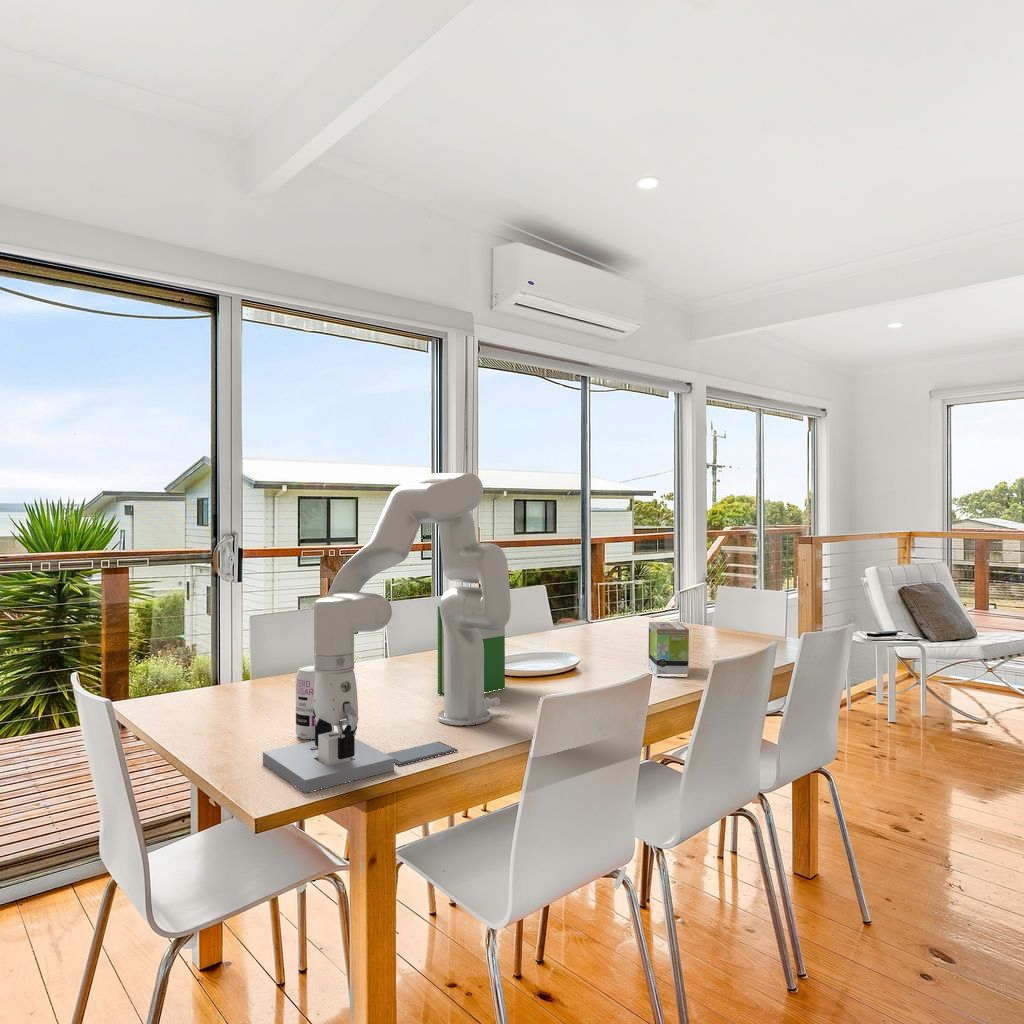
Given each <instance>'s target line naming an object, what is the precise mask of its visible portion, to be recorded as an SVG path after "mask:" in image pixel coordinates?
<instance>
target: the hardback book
mask: <svg viewBox="0 0 1024 1024" xmlns="http://www.w3.org/2000/svg"><path fill="white" fill-rule="evenodd" d="M505 628H506V625H505V626H504V627H503V628H501V629H497V630H490V629H480V628H477V629H478V631H479V633H480V635H481V637H482V640H483V644H484V692H489V691H493V690H498V689H503V688H505V689H506V685H505V684H506V670H505V669H506V639H505V637H506V635H505V634H506V631H505V630H506V629H505ZM438 694H444V632H443V625H442V620H441V615H440V605H439V606H437V695H438Z"/></svg>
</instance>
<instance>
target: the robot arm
mask: <svg viewBox="0 0 1024 1024" xmlns="http://www.w3.org/2000/svg"><path fill="white" fill-rule="evenodd" d="M483 497H484V486H483V483H482V480H481V479H480V478H479V476H477V474H474V473H473V472H434V473H425V474H423V475H422V474H421V475H420V476H418V477H417V478H416V479H415V480H414V481H413V483H405V484H400V485H398V486H397V487H395V488H394V489H393V490H392V491H391V493H390V495H389V497H388V499H387V502H386V504H385V507H384V508H383V510H382V513H381V515H380V517H379V520H378V521H377V524H376V526H375V529H374V530H373V533H372V536H371V538H370V540H369V541H368V543H367V544H366V545H364V546H363V547H362V548H361V549H358V551H357V552H356V553H355V554H354V555H353V556H351V558H350V559H348V560H347V562H345V563H344V564H343V566H342V567H341V568H340V569H339V570H338V572H337V574H336V575H335V577H334V579H333V581H332V583H331V585H330V588H329V590H328V593H327V595H326V597H321V598H319V599H317V600H316V601H315V602H314V605H313V665H314V671H315V672H316V675H315V687H314V699H312V703H313V708H314V711H313V714H314V716H315V719H314V724H315V725H317V726H315V740H314V741H315V745H316V746H317V747H318V735H319V734H324V733H329V732H331V724H332V725H334V727H336V729H337V731H338V732H339V735H340V737H339V738H338V759H340V760H341V759H345V758H349V757H353V756H354V755H355V739H356V737H355V736H356V735H357V729H358V723H359V704H358V703H359V701H358V690H357V682H356V681H357V679H356V674H355V633H361V632H363V633H367V632H369V633H371V632H372V633H373V632H376V631H380V630H382V629H383V628H384V627H386V626H387V625H388V624H389V623H390V620H391V617H392V615H393V608H392V605H391V603H390V601H389V600H388V599H387V598H386V597H384V596H382V595H380V594H377V593H371V592H369V593H368V592H362V591H361V590H362V588H363V587H364V585H365V584H366V583H367V582H368V581H369V580H370V579H372V578H373V577H375V576H376V575H378V574H380V573H381V572H383V571H387V570H388V569H390V568H392V567H395V566H397V565H399V564H401V563H402V562H404V561H405V560H407V558H408V557H409V554H410V551H411V549H412V546H413V544H414V541H415V539H416V538H417V534H418V532H419V529H420V527H421V525H422V524H437V528H438V533H439V542H440V543H439V544H440V552H441V554H440V555H441V563H442V564H441V565H442V571H443V574H444V576H445V578H446V579H448V581H451V582H456V583H466V584H480V587H475V586H455V587H451V588H449V589H447V590H446V591H445V592H444V593H442V596H441V598H440V601H439V606H440V615H441V620H442V625H443V632H444V695H443V696H444V697H443V699H444V702H443V703H444V704H443V705H444V707H443V708H444V709H442V710H441V711H440V712H439V713H437V720H438V721H439V722H441V723H443V724H445V725H450V726H459V727H460V726H461V727H462V726H463V725H466V726H475V724H476V725H480V724H484V723H486V722H488V721H489V720H490V719H491V712H490V711H489V710H488V709H490V708H491V707H496V706H499V705H500V704H501V700H500V698H499V697H493V698H489V697H485V694H484V644H483V640H482V637H481V635H480V633H479V631H478V629H477V628H480V629H490V630H497V629H501V628H503V627H504V626H505V627H506V625H507V624H508V623H509V621H510V617H511V613H512V611H511V609H512V602H511V600H512V599H511V591H510V578H509V577H510V576H509V567H508V566H509V565H508V560H507V556H506V554H505V552H504V550H503V549H502V548H501V546H499V545H497V544H496V543H490V542H478V540H477V535H476V534H477V533H476V527H475V521H474V518H473V516H472V514H471V512H472V511H473V510H475V509H476V508H477V507H478V506H479V505H480V503H481V502H482V500H483ZM360 591H361V592H360ZM343 726H345V727H343Z"/></svg>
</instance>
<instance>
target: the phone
mask: <svg viewBox="0 0 1024 1024" xmlns="http://www.w3.org/2000/svg"><path fill="white" fill-rule="evenodd" d="M454 751H459V749H457V748H455V747H452V746H451V745H448V744H446V743H443V742H441V741H434V742H431V743H426V744H423V745H418V746H414V747H410V748H405V749H402V750H396V751H393V752H389V753H386V754H387V755H389V756H391V757H393V758H394V763H395V764H396V766H397V765H398V766H397V767H401V766H400V765H403V766H405V765H404V764H407V765H409V764H408V763H411V762H415V763H417V762H416V761H419V760H423V759H427V758H431V757H434V758H436V757H435V756H438V755H442V754H446V753H450V752H454ZM454 753H455V752H454ZM450 754H451V753H450ZM446 755H447V754H446ZM442 756H443V755H442ZM438 757H439V756H438ZM431 759H432V758H431ZM427 760H428V759H427ZM423 761H424V760H423ZM419 762H420V761H419ZM395 764H394V765H395ZM411 764H412V763H411Z"/></svg>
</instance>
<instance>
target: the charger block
mask: <svg viewBox="0 0 1024 1024" xmlns="http://www.w3.org/2000/svg"><path fill="white" fill-rule="evenodd" d="M339 737H340V735H339V732H338V730H334V731H333V732H329V733H324V734H319V735H318V762H320V763H322V764H323V765H325V766H331V765H335V764H340V763H344V762H348V761H350V757H349V758H345V759H341V760H340V759H338V738H339Z"/></svg>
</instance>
